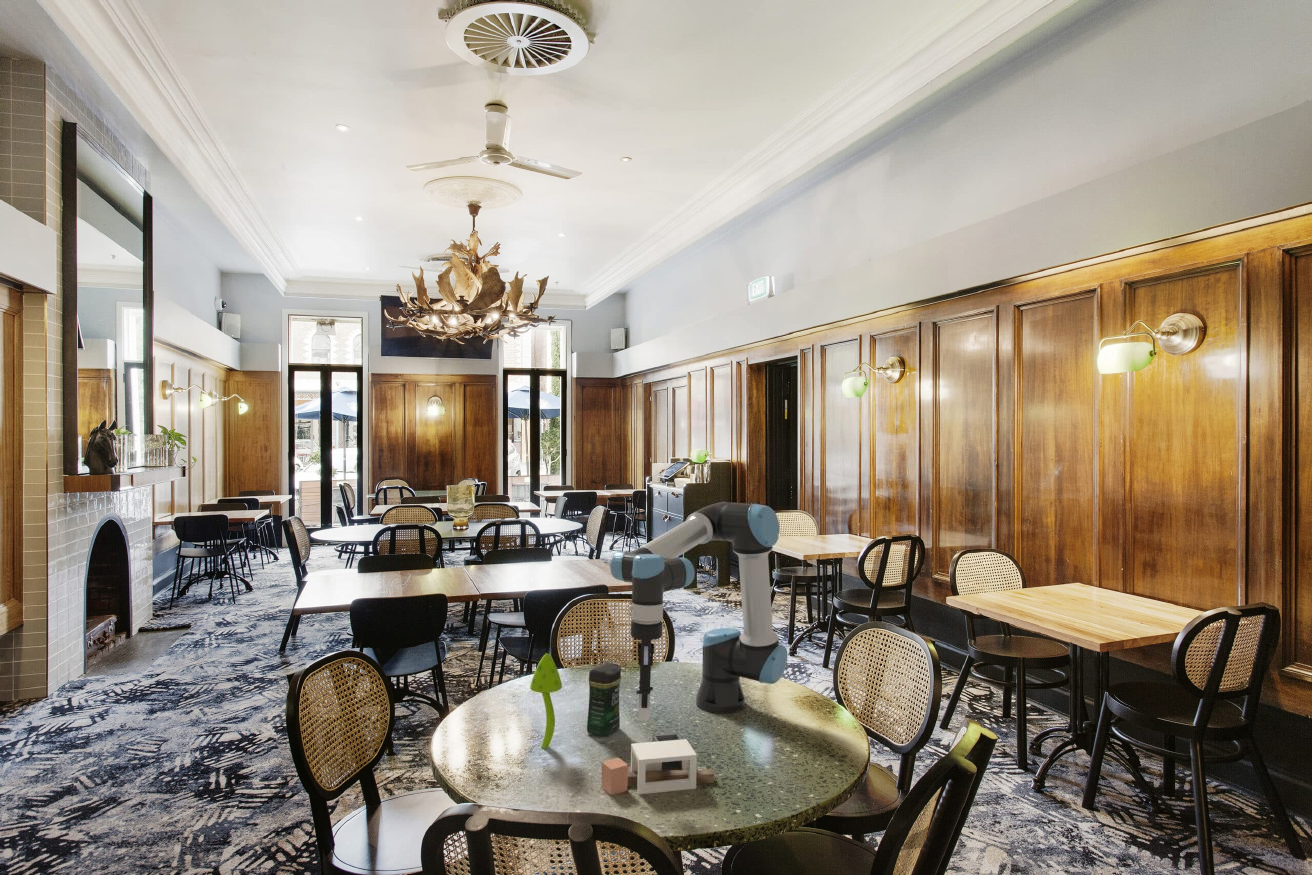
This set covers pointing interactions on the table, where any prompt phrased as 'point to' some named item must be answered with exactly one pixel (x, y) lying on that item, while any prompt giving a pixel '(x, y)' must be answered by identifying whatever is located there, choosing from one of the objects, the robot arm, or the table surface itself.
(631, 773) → the rod
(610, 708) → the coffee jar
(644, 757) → the tunnel
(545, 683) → the mushroom
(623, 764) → the block
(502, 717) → the table surface
